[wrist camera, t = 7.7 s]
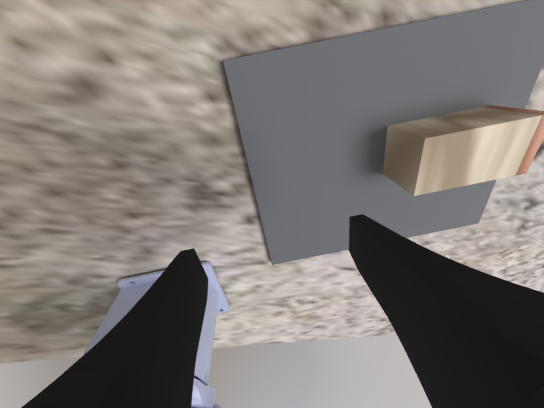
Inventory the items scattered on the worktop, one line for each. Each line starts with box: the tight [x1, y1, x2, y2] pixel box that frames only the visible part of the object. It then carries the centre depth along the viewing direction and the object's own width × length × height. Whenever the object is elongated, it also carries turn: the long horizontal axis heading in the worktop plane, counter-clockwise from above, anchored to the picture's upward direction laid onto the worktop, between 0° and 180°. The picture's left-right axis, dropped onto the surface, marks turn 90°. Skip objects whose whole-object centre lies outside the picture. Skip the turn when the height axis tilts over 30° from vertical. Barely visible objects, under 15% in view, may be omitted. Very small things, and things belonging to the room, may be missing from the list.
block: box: [383, 105, 544, 196], centre depth 16 cm, size 4×4×8 cm
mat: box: [223, 0, 544, 265], centre depth 18 cm, size 22×18×1 cm
